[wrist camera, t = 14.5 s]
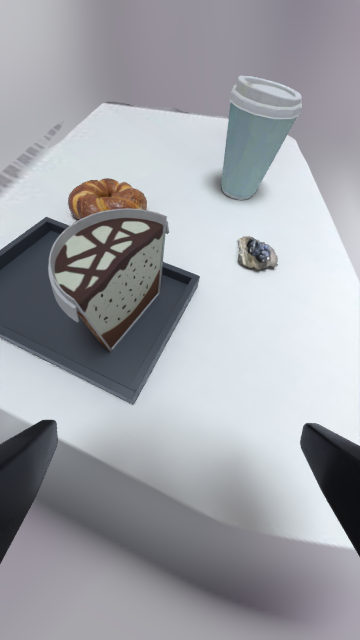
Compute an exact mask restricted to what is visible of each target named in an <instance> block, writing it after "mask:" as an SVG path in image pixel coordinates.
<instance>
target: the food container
mask: <svg viewBox="0 0 360 640" xmlns="http://www.w3.org/2000/svg"><path fill="white" fill-rule="evenodd" d="M165 233H167V234H168V233H169V230H168V221H166V216H164V215H162V214H159V213H156V212H152V211H147V210H141V209H114V210H107V211H103V212H98V213H95V214H92V215H89V216H87V217H85V218H82V219H80V220H79V221H77V222H75V223H73V224H72V225H71V226H69V227H68V228H67V229H65V230H64V231H63V232H62V233H61V234H60V235H59V237H58V238H57V240H56V241H55V243H54V244H53V246H52V249H51V251H50V256H49V266H48V270H49V278H50V282H51V286H52V290H53V293H54V296H55V299H56V301H57V302H58V304H59V306H60V307H61V309H62V310H63V311H64V312H65V313H66V314H67V315H68V316H69V317H70V318H72V319H73V320H74V321H76V322H79V319H78V315H79V317H80V318H81V319H82V320H83V322H84V323H85V324H86V326H87V327H88V328H89V329H90V331H91V332H92V333H93V334H94V336H95V337H96V338H97V340H98V341H99V342H100V343H101V344H102V345H103V347H104V348H106V349H107V350H108V351H110V352H112V350H113V349H114V348H115V347H116V346H117V344H118V343H119V342H120V341H121V340H122V338H123V337H124V336H125V335H126V334H127V332H128V331H129V330H130V329H131V328H132V326H133V325H134V324H135V323H136V322H137V320H138V319H139V318H140V317H141V316H142V314H143V313H144V312H145V311H146V310H147V308H148V307H149V306H150V305H151V304H152V302H153V301H154V300H155V299H156V298H157V297H158V295H159V294H160V286H161V275H162V264H163V253H164V242H165ZM77 314H78V315H77Z"/></svg>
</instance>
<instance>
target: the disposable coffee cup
mask: <svg viewBox="0 0 360 640" xmlns="http://www.w3.org/2000/svg"><path fill="white" fill-rule="evenodd" d="M301 100H302V98H301V95H300V93H298V92H296V91H295V90H293V89H291V88H289V87H287V86H284V85H281V84H279V83H276V82H273V81H269V80H265V79H261V78H256V77H250V76H239V78H238V82H237V84H236V85H234V86H233V89H232V93H231V95H230V98H229V101H231V104H230V113H229V122H228V130H227V139H226V148H225V157H224V165H223V174H222V183H221V186H222V191H223V192H224V193H225V195H227V196H229V197H231V198H233V199H238V200H245V199H249V198H250V197H252V196H253V194H254V193H255V192H256V190H257V189H258V187H259V185H260V183H261V181H262V180H263V178H264V176H265V174H266V172H267V170H268V169H269V167H270V165H271V163H272V161H273V160H274V158H275V156H276V154H277V152H278V150H279V149H280V147H281V145H282V143H283V141H284V140H285V138H286V136H287V134H288V132H289V130H290V129H291V127H292V125H293V123H294V121H295V120H296V118H297V116H299V115H300V112H301V109H302V102H301Z"/></svg>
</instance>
